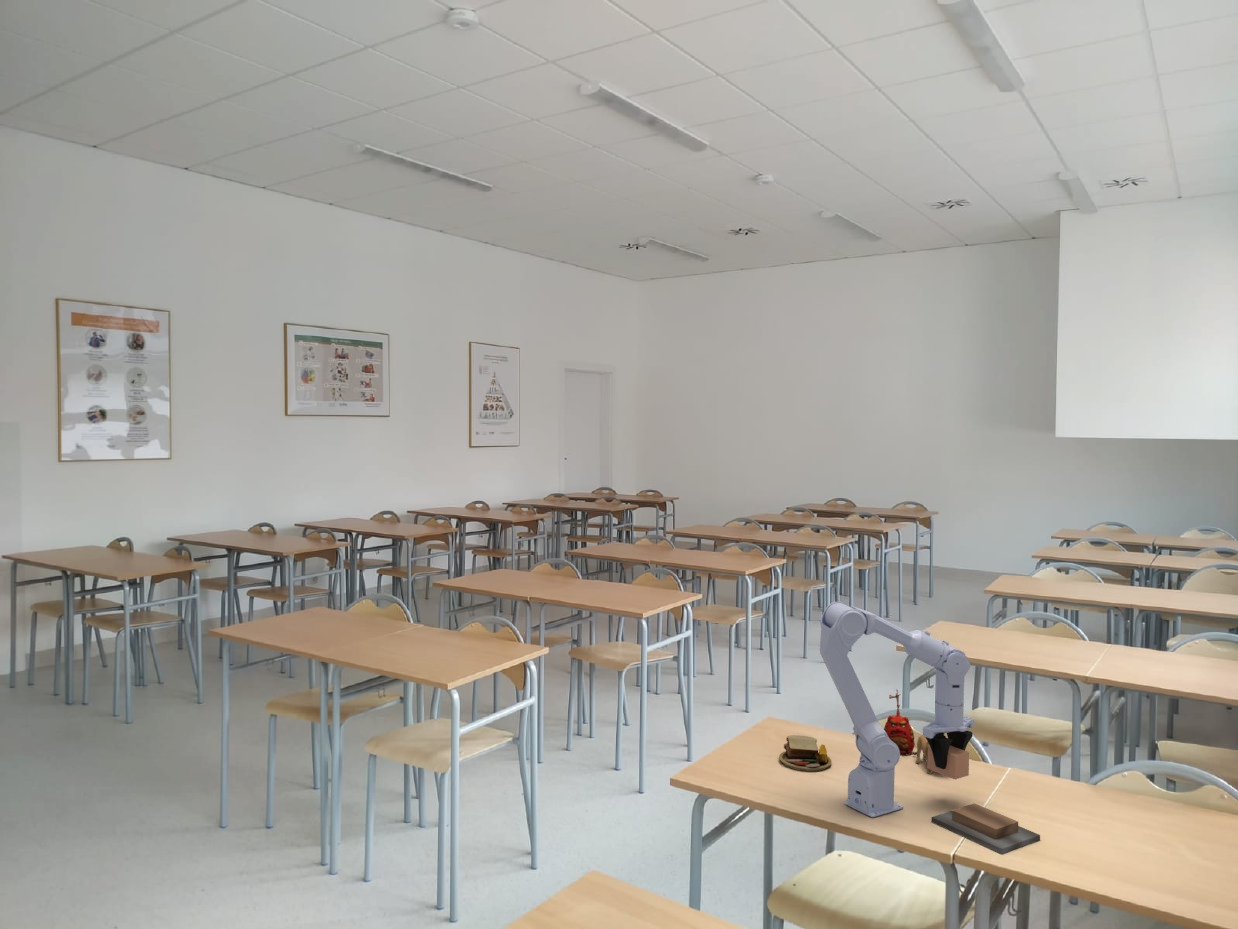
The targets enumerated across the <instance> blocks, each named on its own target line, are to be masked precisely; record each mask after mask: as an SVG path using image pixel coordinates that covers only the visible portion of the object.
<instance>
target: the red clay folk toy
mask: <svg viewBox="0 0 1238 929" xmlns="http://www.w3.org/2000/svg"><path fill="white" fill-rule="evenodd" d="M895 690H896V693H895V695H892V694H889V697H888V698H889V699H896V708H897V709H896V714H895V715H894V716H893V715H888V717H887V721H886V723H885V725H884V728H883V729H884V730H885V732H886V733H887V735H888V737H889V739H890V740H891V741H893V742H894V743H895V744H896V745H897V746H898V748H899V751H900V755H902V754H903V755H904V756H905V755H906V754H910V755H912V754H913V751H914V748H915V744H916V743H915V735H914V730H913V728H912V725H911V724H910V723H909V718H908V717H907V716H901V712H900V707H901V705H900V704H899V702H900V700H899V698H900V697H899V696H900V694H899V690H898V689H895ZM906 756H907V755H906Z"/></svg>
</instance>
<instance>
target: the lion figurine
mask: <svg viewBox="0 0 1238 929" xmlns="http://www.w3.org/2000/svg"><path fill="white" fill-rule="evenodd" d="M928 746H929V743H928V741H927V739H926V738H925V736H923V734H921V735H920V736H918V739H917V742H916V749H917V750H916V751H915V752H912V754H913V756H916V760H915V764H917V763H918V764H919V765H920V764H921V753H923V754H922V759H923V760H925V762H926V763H925V764H926V766H927V764H928ZM932 772H933V771H932V770H930V769H927V768H926V771H925V773H926V774H929V773H931V774H932Z"/></svg>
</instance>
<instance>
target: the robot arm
mask: <svg viewBox="0 0 1238 929" xmlns="http://www.w3.org/2000/svg"><path fill="white" fill-rule="evenodd" d="M819 622H820V627H821V629H820V642H819V652H820V653H819V654H820V655H821V659H822V661H823V663H824V664H825V666H826V668H827V671H828V672H829V675H830V677H831V679H832V682H833V683H834V686H835V687H836V688H835V689H836V690H837V691H838V694H839V696H840V699H841V701H842V703H843V705H844V707H845V710H847V713H848V715H849V717H850V720H851V722H852V724H853V727H852V730H853V732H854V734H855V746H856V749H857V750H858V751H859V753H860V757H859V761H858V762H859V763H858V765H857V766H856V767H855V768H854V769H852V770H851V771H850V772H849V774H848V778H847V800H846V801H844V805H846V806H848V807H850V808H853V809H854V810H857V811H858V812H861V813H862V814H864V815H867V816H868V817H871V818H875V817H879V816H882V815H886V814H889V813H893V812H895V811H900V810H902V809H904V806H903V805H902V804H900V803H897V802H895V768H896V766H897V765H898V763H899V761H900V759H901V758H900V757H901V754H900V751H899V748H898V746H897V745H896V744H895V743H894V742H893V741H891V740H890V739H889V737H888V735H887V733H886V732H885V730H884V728H883V726H882V725H881V723H880V722H879V720H878V718H877V716H876V713H875V711H874V709H873V708H872V706H871V703H870V701H869V699H868V697H867V695H866V693H865V690H864V689H863V686H862V684H861V682H860V680H859V678H858V676H857V673H856V672H855V669H854V667H853V664H852V663H851V661H850V658H849V657H848V654H849V652H850V650H851V649H852V647H853V646H854V645H855V643H857V642H858V641H859V639H860V638H861V637H862V636H863V635H865V636H870V635H872V634H874V633H875V634H878V635H880V636H881V637H884V638H887V639H889V640H891V641H893V642H895V643H897V644H900V645H901V646H903V649H904V651H905V653H906V654H907V655H908V656H910V657H912V658H914V659H916V660H918V661H920V662H923V663H925V664H927V665H929V666H931V667H933V668H934V669H935V688H934V689H935V693H934V694H935V695H934V697H935V698H934V699H935V701H934V702H935V703H934V720H933V721H931V722H930V723H928V725H925V726H923V727H922V735H923V736H925V738H926V739H927V741H928V743H929V745H930V747H931V750H932V753H933V757H934V761H935V765H936V767H938V768H941V769H945V768H946V765H947V756H948V750H949V747H950V746H953V747H956V748H959V749H962V750H964V751H966V748H967V746H968V744H969V742H970V741H971V739H972V738H973V731H971V730H968V729H973V728H975V719H974V718H972V717H969V716H964V711H965V709H964V707H965V706H964V703H965V696H964V695H965V692H964V691H965V676H966V675H967V673H968V672H969V670H970V668H971V663H970V662H969V660H968V656H967V655H966V653H964V652H963V651H962V650H960V649H958V648H955V647H954V646H952V645H950V643H949V641H947V640H944V639H943V640H939V639H938V638H936V637H933V636H931V634H932V633H931V632H929V631H927V630H925V629H922V630H919V629H915V630H912V631H908V630H906V629H903V628H901V627H899V626H898V625H896V624H894V623H892V622H890V621H888V620H887V619H885V618H882V617H880V616H879V615H877V614H875V613H873V612H870V611H867V610H865V609H861V608H859V607H856V606H853V605H850V606H849V605H847V604H846V603H845V602H843V601H833V602H831V603H829V604H828V605H827V606H826V607H825V609H824V611H823V612H822V614H821V616H820V619H819ZM945 734H946V735H945Z"/></svg>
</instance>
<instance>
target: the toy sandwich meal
mask: <svg viewBox="0 0 1238 929" xmlns="http://www.w3.org/2000/svg"><path fill="white" fill-rule="evenodd" d="M785 741H786V742H787V743H784V744H783V749H784V750H785V751H782V752H781V753H780V754H779V756H778V758H779V760H780V762H781V763H782V764H783V765H785V766H786V767H787V768H790V769H793V770H797V771H802V772H803V771H804V772H819V771H823V770H825V769H827V768H828V767H830V766H831V765H832V762H833V761H832V759H831V758H830V757H829V755H828V751H827V748H826V745H825V744H821V745H820V746H819V748H818V745H817V742H818V741H817V738H815V737H812V736H806V735H799V734H798V735H795V734H794V735H787V736H786V740H785Z"/></svg>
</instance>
